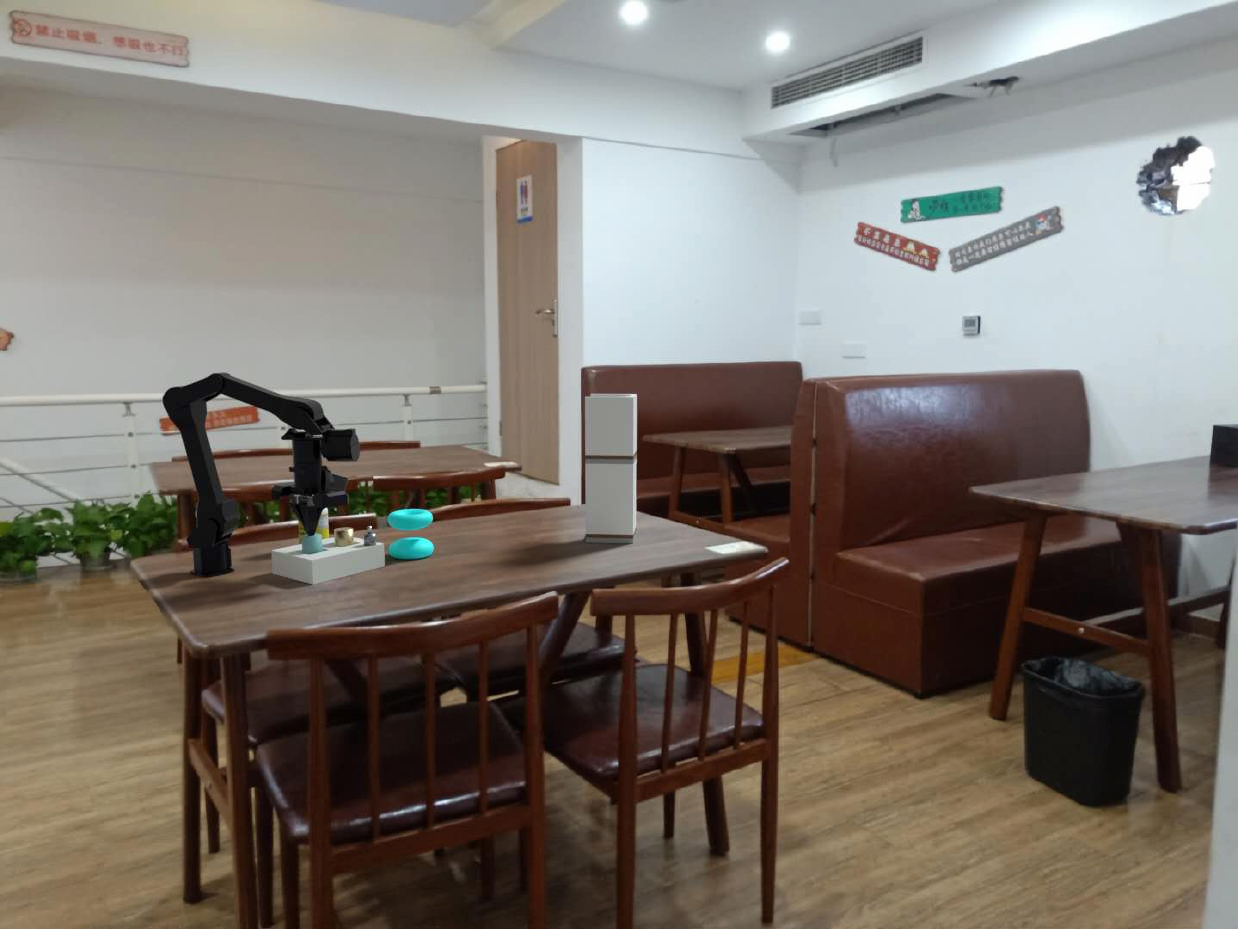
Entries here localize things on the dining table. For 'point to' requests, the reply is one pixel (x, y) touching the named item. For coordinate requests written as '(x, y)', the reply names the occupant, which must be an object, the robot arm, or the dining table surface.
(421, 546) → the donuts
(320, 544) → the teal cylinder
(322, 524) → the supplement bottle
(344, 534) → the brass knob
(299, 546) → the mount
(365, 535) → the potentiometer
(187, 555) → the dining table surface
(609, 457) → the toy refrigerator
